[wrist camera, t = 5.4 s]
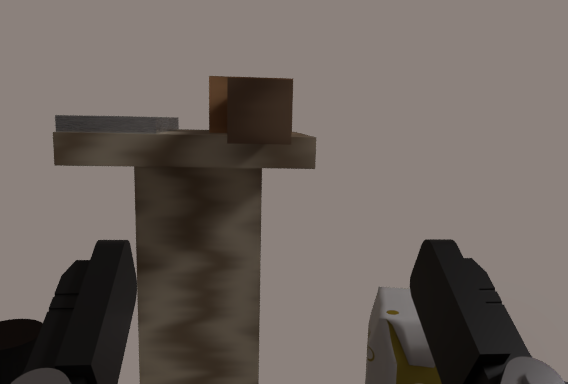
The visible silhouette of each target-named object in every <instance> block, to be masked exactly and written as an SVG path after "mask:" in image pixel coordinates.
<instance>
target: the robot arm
mask: <svg viewBox="0 0 568 384" xmlns="http://www.w3.org/2000/svg"><path fill="white" fill-rule="evenodd" d="M410 292H411V297H412V300H413V303H414V306H415V308H416V311H417V314H418V317H419V320H420V323H421V326H422V328H423V331H424V334H425V337H426V340H427V343H428V346H429V349H430V351H431V354H432V357H433V360H434V363H435V366H436V369H437V371H438V374H439V377H440V380H441V383H442V384H568V382H565V381H563V379H562V378H561V376H560V375H559V374H558V373H557V372H556V371H555V370H554V369H552V368H551V367H550V366H549V365H547V364H546V363H544V362H542V361H540V360H537V359H535V358H532V356H531V355H530V353H529V352H528V350H527V348H526V346H525V344H524V342H523V340H522V338H521V336H520V335H519V333H518V331H517V329H516V327H515V325H514V323H513V321H512V320H511V318H510V316H509V314H508V312H507V310H506V308H505V307H504V305H502V301H501V299H500V297H499V295H498V293H497V292H495V288H494V286H493V284H492V282H491V280H490V278H489V277H488V274H487V272H485V271H484V270H483V269H482V268H481V267H480V266H479V265H478V264H477V263H476V262H475V261H474V260H473V259H472V258H463V256H462V254H461V252H460V250H459V248H458V246H457V244H456V243H455V241H453V240H424V242H423V243H422V245H421V249H420V251H419V254H418V257H417V260H416V262H415V265H414V268H413V271H412V274H411V277H410ZM136 294H137V280H136V273H135V268H134V263H133V257H132V252H131V247H130V243H129V241H128V240H98V241H97V243H96V245H95V248H94V251H93V254H92V257H91V259H90V260H76V261H75V262H74V263H73V264H72V265H71V266H70V267H69V268H68V269H67V271H66V272H65V273H64V274H63V275H62V276H61V279H60V281H59V284H58V286H57V289H56V291H55V297H53V299H52V302H51V304H50V307H49V312H47V314H46V317H45V320H44V322H43V325H42V327H41V330H40V332H39V335H38V337H37V340H36V342H35V345H34V348H33V350H32V353H31V355H30V358H29V360H28V363H27V365H26V367H25V369H24V371H23V373H22V374H21V376H20V377H18V378H17V379H15V380H14V381H13V382H12V383H11V384H118V379H119V374H120V370H121V364H122V361H123V356H124V352H125V347H126V343H127V337H128V333H129V329H130V324H131V320H132V315H133V311H134V306H135V301H136Z"/></svg>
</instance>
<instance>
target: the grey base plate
mask: <svg viewBox="0 0 568 384" xmlns="http://www.w3.org/2000/svg"><path fill="white" fill-rule="evenodd" d="M55 121H56V132H85V133H135V134H159V133H164V132H169V131H174V130H178V118H169V117H168V118H167V117H124V116H122V117H121V116H65V115H64V116H62V115H60V116H59V115H56V116H55Z"/></svg>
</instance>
